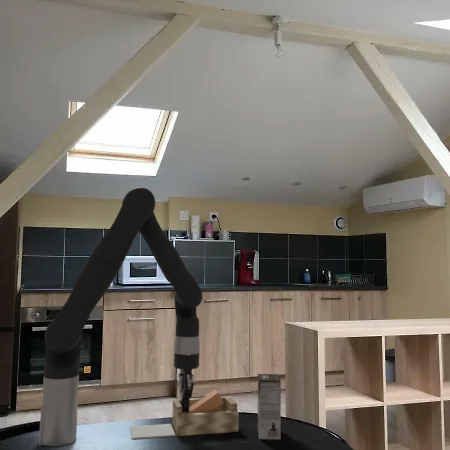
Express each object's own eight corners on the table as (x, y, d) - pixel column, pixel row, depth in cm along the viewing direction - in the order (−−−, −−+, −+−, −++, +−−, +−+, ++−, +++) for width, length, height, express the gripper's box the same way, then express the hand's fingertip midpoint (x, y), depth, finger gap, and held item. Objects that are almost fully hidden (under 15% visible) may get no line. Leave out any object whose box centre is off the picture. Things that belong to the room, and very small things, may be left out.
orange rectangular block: (189, 426, 136) (183, 416, 136) (187, 422, 140) (181, 412, 140) (223, 402, 139) (218, 392, 139) (220, 399, 143) (215, 389, 143)
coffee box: (257, 428, 139) (257, 373, 141) (278, 429, 139) (278, 373, 140) (258, 439, 130) (258, 380, 132) (281, 439, 130) (281, 380, 131)
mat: (132, 439, 129) (132, 437, 129) (130, 427, 138) (130, 426, 138) (175, 436, 132) (175, 434, 132) (170, 425, 141) (170, 423, 141)
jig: (177, 436, 132) (177, 408, 133) (172, 425, 141) (172, 399, 142) (238, 431, 136) (238, 404, 137) (229, 421, 146) (229, 396, 147)
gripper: (171, 348, 145) (169, 405, 143) (177, 355, 133) (175, 418, 131) (195, 347, 147) (193, 404, 145) (203, 354, 134) (201, 417, 132)
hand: (185, 411), depth 138 cm, fingers closed
